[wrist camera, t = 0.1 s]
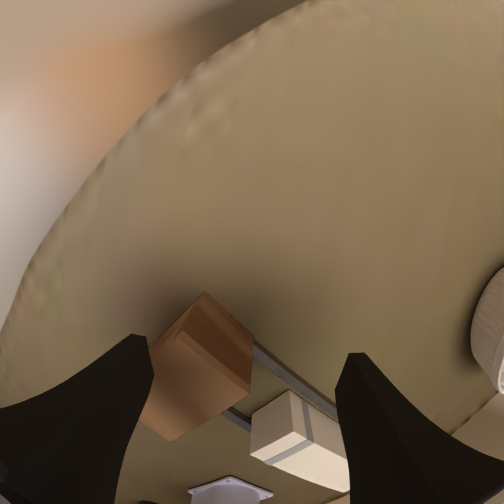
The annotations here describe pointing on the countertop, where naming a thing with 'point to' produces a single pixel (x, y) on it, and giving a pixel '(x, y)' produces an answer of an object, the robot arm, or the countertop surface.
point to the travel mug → (147, 502)
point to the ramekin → (490, 331)
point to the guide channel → (289, 378)
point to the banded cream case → (300, 441)
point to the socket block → (197, 369)
